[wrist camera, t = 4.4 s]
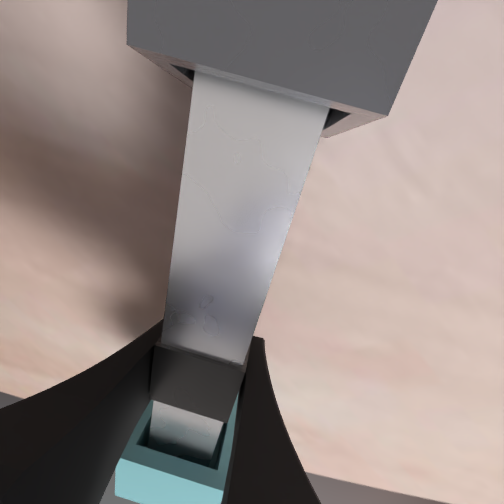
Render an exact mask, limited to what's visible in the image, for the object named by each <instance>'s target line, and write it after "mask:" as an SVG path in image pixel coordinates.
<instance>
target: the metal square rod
mask: <svg viewBox="0 0 504 504" xmlns="http://www.w3.org/2000/svg"><path fill="white" fill-rule="evenodd" d="M329 109H330V108H329V107H326V106H322V105H319V104H315V103H311V102H308V101H304V100H300V99H297V98H293V97H289V96H286V95H282V94H279V93H275V92H271V91H268V90H264V89H260V88H257V87H253V86H249V85H246V84H242V83H239V82H235V81H231V80H228V79H224V78H220V77H217V76H213V75H209V74H206V73H202V72H199V71H195V75H194V83H193V91H192V99H191V107H190V115H189V123H188V131H187V139H186V147H185V155H184V163H183V171H182V179H181V187H180V194H179V202H178V210H177V218H176V226H175V234H174V242H173V250H172V258H171V266H170V274H169V282H168V290H167V298H166V306H165V314H164V322H163V330H162V335H161V337H160V338H159V340H158V341H157V342H156V344H155V347H154V356H153V365H152V374H151V383H150V392H149V399H151V400H154V402H153V410H152V418H151V426H150V434H149V442H148V448H149V449H152V450H155V451H158V452H162V453H165V454H168V455H171V456H174V457H177V458H180V459H183V460H187V461H190V462H193V463H196V464H199V465H202V466H205V467H208V466H209V464H210V461H211V458H212V455H213V452H214V449H215V446H216V443H217V440H218V437H219V434H220V431H221V428H222V425H223V422H224V423H228V420H229V418H230V415H231V412H232V409H233V406H234V403H235V400H236V398H237V395H238V392H239V389H240V386H241V383H242V381H243V378H244V375H245V371H246V366H247V361H248V356H249V350H250V345H251V340H252V336H253V333H254V330H255V327H256V325H257V322H258V319H259V316H260V313H261V310H262V307H263V304H264V301H265V298H266V295H267V292H268V289H269V286H270V283H271V280H272V277H273V274H274V271H275V268H276V265H277V262H278V259H279V256H280V254H281V251H282V248H283V245H284V242H285V239H286V236H287V233H288V230H289V227H290V224H291V221H292V218H293V215H294V212H295V209H296V206H297V203H298V200H299V197H300V194H301V191H302V188H303V185H304V183H305V180H306V177H307V174H308V171H309V168H310V165H311V162H312V159H313V156H314V153H315V150H316V147H317V144H318V141H319V138H320V135H321V132H322V129H323V126H324V123H325V120H326V117H327V114H328V112H329Z"/></svg>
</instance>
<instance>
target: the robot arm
mask: <svg viewBox="0 0 504 504" xmlns="http://www.w3.org/2000/svg"><path fill="white" fill-rule="evenodd" d="M163 322H164V319H163V320H161V321H160V322H159V323H157V324H156V325H155V326H153V327H152V328H151V329H149V330H148V331H146V332H145V333H144V334H142V335H141V336H139V337H138V338H137V339H135V340H134V341H132V342H131V343H129V344H128V345H126V346H125V347H123V348H122V349H120V350H119V351H117V352H116V353H114V354H113V355H111V356H109V357H108V358H106V359H104V360H103V361H101V362H99V363H98V364H96V365H94V366H92V367H91V368H89V369H87V370H85V371H83V372H81V373H80V374H78V375H76V376H74V377H72V378H70V379H68V380H66V381H64V382H61V383H59V384H57V385H55V386H53V387H51V388H49V389H47V390H45V391H42V392H40V393H38V394H35V395H33V396H31V397H28V398H26V399H24V400H21V401H19V402H16V403H14V404H12V405H9V406H6V407H4V408H1V409H0V504H99V503H100V501H101V498H102V496H103V494H104V492H105V489H106V487H107V485H108V483H109V481H110V479H111V476H112V474H113V472H114V470H115V468H116V466H117V464H118V462H119V460H120V458H121V455H122V453H123V451H124V449H125V447H126V445H127V443H128V441H129V439H130V437H131V435H132V433H133V431H134V429H135V427H136V425H137V423H138V421H139V420H140V418H141V416H142V414H143V413H144V411H145V409H146V408H147V406H148V404H149V402H150V401H151V399H149V392H150V383H151V374H152V365H153V356H154V347H155V344H156V342H157V341H158V340H159V338H160V337H161V335H162V330H163ZM264 342H265V341H264V339H263V338H260V337H255V336H252V340H251V345H250V350H249V356H248V361H247V366H246V371H245V375H244V378H243V381H242V383H241V386H240V389H239V393H238V402H237V410H236V418H235V427H234V435H233V443H232V450H231V455H230V461H229V466H228V471H227V476H226V481H225V486H224V492H223V497H222V502H221V504H321V502H320V500H319V499H318V497H317V495H316V493H315V491H314V489H313V487H312V485H311V483H310V481H309V479H308V477H307V475H306V473H305V471H304V469H303V467H302V464H301V462H300V460H299V458H298V455H297V453H296V451H295V449H294V447H293V444H292V442H291V440H290V437H289V435H288V432H287V430H286V427H285V425H284V422H283V419H282V416H281V414H280V411H279V408H278V404H277V401H276V398H275V395H274V391H273V388H272V384H271V380H270V375H269V371H268V366H267V361H266V355H265V344H264Z"/></svg>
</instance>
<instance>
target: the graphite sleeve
mask: <svg viewBox="0 0 504 504" xmlns="http://www.w3.org/2000/svg"><path fill="white" fill-rule="evenodd" d="M437 1H438V0H128V10H127V45H128V46H130V47H131V48H133V49H134V50H136V51H137V52H139V53H140V54H142V55H143V56H145V57H146V58H148V59H149V60H151V61H152V62H154V63H155V64H157V65H158V66H160V67H161V68H163V69H164V70H166V71H167V72H169V73H170V74H171V75H173V76H174V77H176V78H177V79H179V80H180V81H182V82H183V83H185V84H186V85H188V86H189V87H191V88H192V89H193V83H194V75H195V71H199V72H202V73H206V74H209V75H213V76H217V77H220V78H224V79H228V80H231V81H235V82H239V83H242V84H246V85H249V86H253V87H257V88H260V89H264V90H268V91H271V92H275V93H279V94H282V95H286V96H289V97H293V98H297V99H300V100H304V101H308V102H311V103H315V104H319V105H322V106H326V107H329V108H330V109H329V112H328V114H327V117H326V120H325V123H324V126H323V129H322V132H321V135H320V136H321V137H325V138H328V137H331V136H334V135H337V134H339V133H342V132H345V131H348V130H351V129H353V128H356V127H359V126H362V125H364V124H367V123H370V122H373V121H375V120H378V119H381V118H384V117H386V116H388V114H389V112H390V110H391V107H392V105H393V103H394V100H395V98H396V96H397V93H398V91H399V89H400V86H401V84H402V82H403V80H404V77H405V75H406V73H407V70H408V68H409V66H410V63H411V61H412V59H413V56H414V54H415V52H416V49H417V47H418V45H419V42H420V40H421V38H422V36H423V33H424V31H425V29H426V26H427V24H428V22H429V19H430V17H431V15H432V12H433V10H434V8H435V5H436V3H437Z"/></svg>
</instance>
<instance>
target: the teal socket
mask: <svg viewBox="0 0 504 504" xmlns="http://www.w3.org/2000/svg"><path fill="white" fill-rule="evenodd" d="M238 393H239V392H238ZM153 402H154V400H151V401H150V402H149V404H148V406H147V408H146V409H145V411H144V413H143V414H142V416H141V418H140V420H139V421H138V423H137V425H136V427H135V429H134V431H133V433H132V435H131V437H130V439H129V441H128V443H127V445H126V447H125V449H124V451H123V453H122V455H121V458H120V460H119V462H118V464H117V466H116V478H115V479H116V480H115V495H116V496H119V497H122V498H126V499H128V500H132V501H134V502H138V503H141V504H220V503H221V501H222V497H223V492H224V486H225V481H226V476H227V471H228V466H229V461H230V455H231V450H232V443H233V435H234V427H235V418H236V410H237V402H238V395H237V398H236V400H235V403H234V406H233V409H232V412H231V415H230V418H229V420H228V423H224V422H223V425H222V428H221V431H220V434H219V437H218V440H217V443H216V446H215V449H214V452H213V455H212V458H211V461H210V464H209V466H208V467H205V466H202V465H199V464H196V463H193V462H190V461H187V460H183V459H180V458H177V457H174V456H171V455H168V454H165V453H162V452H158V451H155V450H152V449H149V448H148V442H149V434H150V426H151V418H152V410H153Z"/></svg>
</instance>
